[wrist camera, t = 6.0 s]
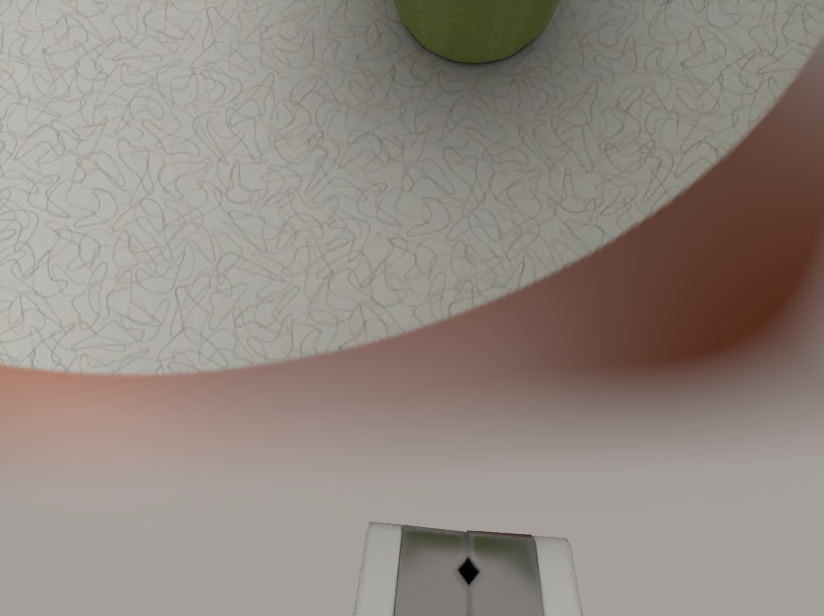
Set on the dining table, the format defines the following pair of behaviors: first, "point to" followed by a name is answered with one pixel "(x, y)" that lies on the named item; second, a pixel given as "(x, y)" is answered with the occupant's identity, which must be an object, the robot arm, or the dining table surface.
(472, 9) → the plant pot
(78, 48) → the dining table surface
